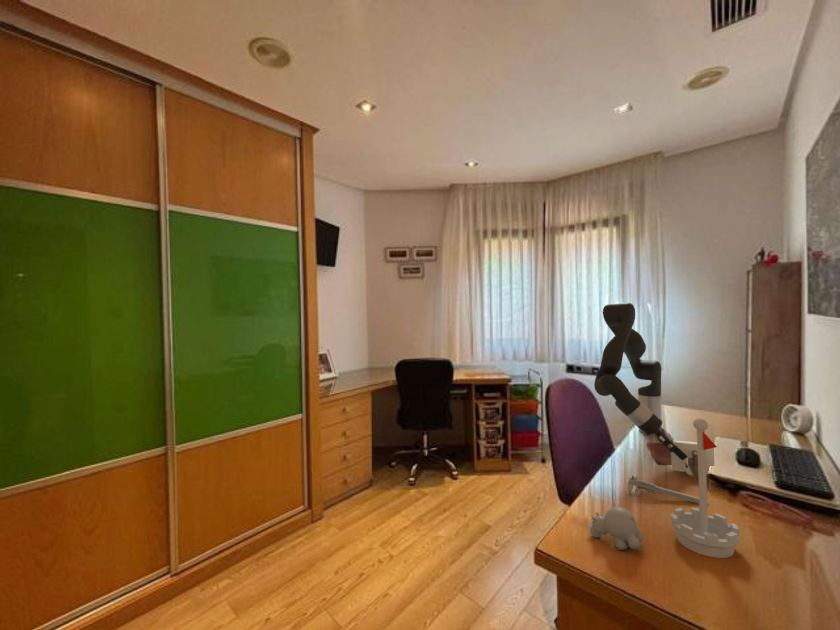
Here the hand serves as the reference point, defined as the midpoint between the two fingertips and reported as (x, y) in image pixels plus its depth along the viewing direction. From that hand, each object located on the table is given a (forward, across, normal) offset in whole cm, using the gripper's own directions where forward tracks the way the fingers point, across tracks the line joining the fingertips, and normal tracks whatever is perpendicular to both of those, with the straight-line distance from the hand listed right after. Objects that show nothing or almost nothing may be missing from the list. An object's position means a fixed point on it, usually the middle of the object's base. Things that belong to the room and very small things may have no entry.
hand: (682, 454), depth 133 cm
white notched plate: (+6, 0, +2) cm, 6 cm away
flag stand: (+2, -48, +7) cm, 48 cm away
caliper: (-1, -26, +10) cm, 28 cm away
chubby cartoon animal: (-12, -56, +20) cm, 61 cm away
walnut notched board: (+7, 0, +1) cm, 7 cm away
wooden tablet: (+2, +16, +7) cm, 18 cm away
